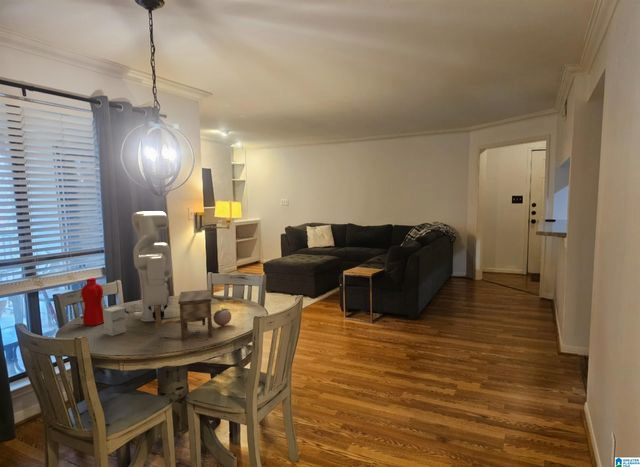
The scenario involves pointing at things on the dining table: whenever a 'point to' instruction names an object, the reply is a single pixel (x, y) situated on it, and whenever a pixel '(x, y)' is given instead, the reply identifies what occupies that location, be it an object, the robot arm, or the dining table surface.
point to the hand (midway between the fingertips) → (158, 318)
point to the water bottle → (92, 303)
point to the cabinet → (195, 309)
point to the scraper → (160, 322)
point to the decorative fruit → (222, 317)
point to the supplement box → (114, 320)
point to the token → (195, 332)
